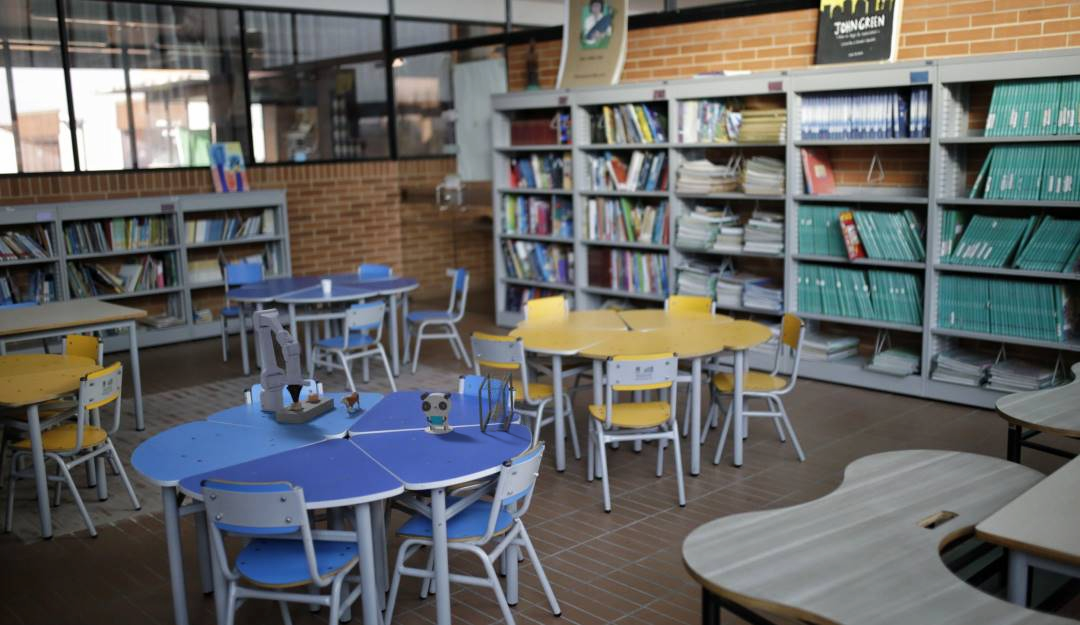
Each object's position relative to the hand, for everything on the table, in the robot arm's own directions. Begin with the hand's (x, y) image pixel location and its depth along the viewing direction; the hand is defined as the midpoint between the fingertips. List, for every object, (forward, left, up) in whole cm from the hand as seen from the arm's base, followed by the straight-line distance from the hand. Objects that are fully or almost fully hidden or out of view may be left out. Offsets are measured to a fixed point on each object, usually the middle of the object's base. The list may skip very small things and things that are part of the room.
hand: (295, 401), depth 405 cm
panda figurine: (+66, 0, -8) cm, 66 cm away
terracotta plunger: (0, +13, -4) cm, 14 cm away
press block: (0, +7, -7) cm, 10 cm away
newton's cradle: (+85, +16, -8) cm, 87 cm away
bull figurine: (+17, +16, -8) cm, 24 cm away
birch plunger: (0, 0, -4) cm, 4 cm away
